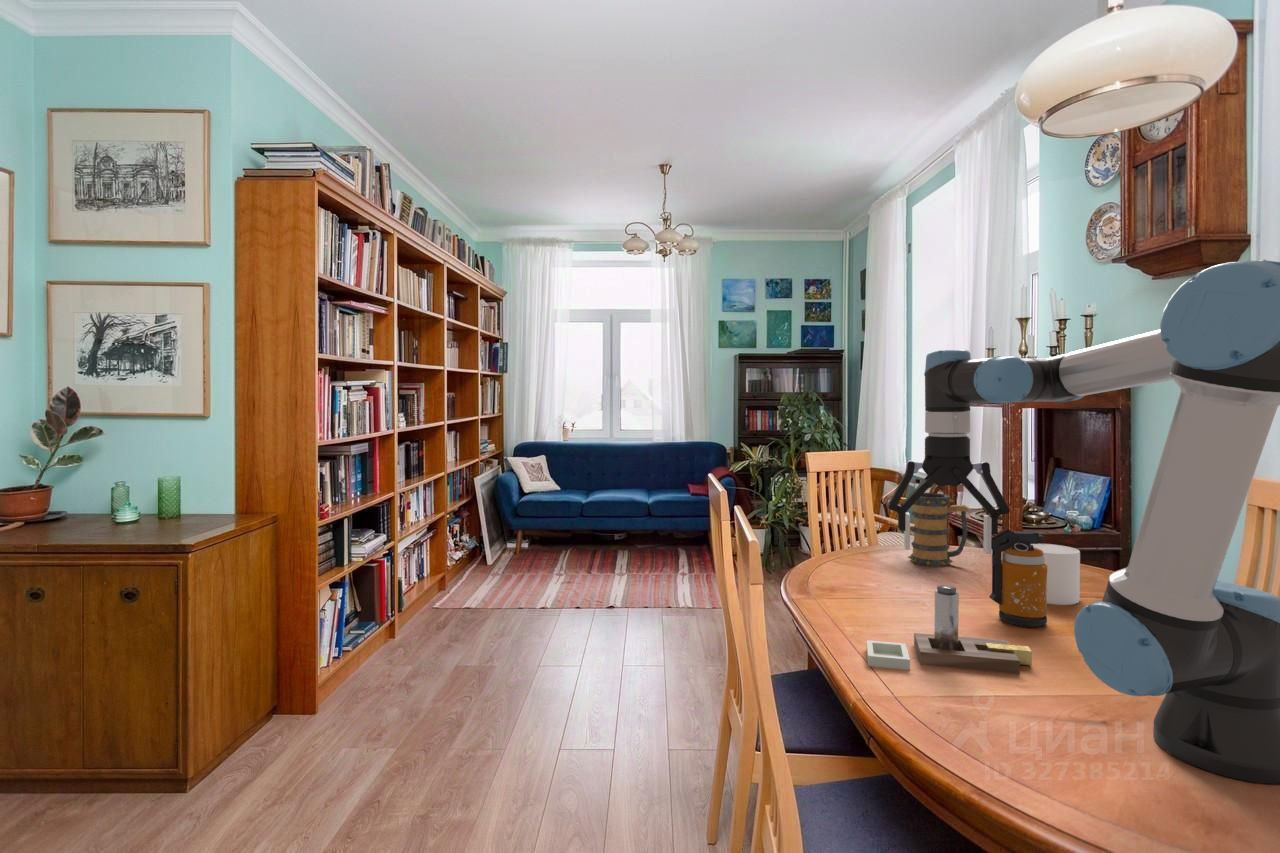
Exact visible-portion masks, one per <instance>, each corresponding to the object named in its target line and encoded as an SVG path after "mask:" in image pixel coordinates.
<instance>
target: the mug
mask: <svg viewBox="0 0 1280 853" xmlns="http://www.w3.org/2000/svg"><path fill="white" fill-rule="evenodd" d="M953 502H954V500H953V499H952V498H951V496H950V495H949V494H947V493H937V492H924V494H923V495H922V496H921V497H920V498H919V499H918V500H917V501H916V502H915V503H914V504H913V505H912V511H911V514H910V515H912V516H913V524H914V525H913V528H912V529H911V530H912V531H913V532H914V534H913V535H914V537H913V541H912V542H910V545H911V547H912V553H911V554H910V555H908V556H907V558H909V559H910V561H911V563H913V564H915V565H919V566H923V567H931V568H932V567H934V568H940V567H947V566H950V564H951V563H953V562H955V561H954V560H952V559H950V558H952V557H957V556H960V554H961V553H962V552H963V549H964V547H965V545H966V542H967V537H968V523H967V512H969V511H971V510H972V508H970V507H969V506H967V505H965V504H953V505H951V503H953ZM952 512H960V514H961V520H960V521H961V526H962V537H961V541H960V543H959V546H958V547H957V549H955V550H949V549H950V547H951V546H950V545H949V544H948V540H947V539H948V537H947V535H948V532H949V529H948V528H947V524H948V522H947V521H948V518H950V516H951V515H950V514H949V513H952Z"/></svg>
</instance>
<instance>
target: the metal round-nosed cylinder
mask: <svg viewBox="0 0 1280 853" xmlns="http://www.w3.org/2000/svg"><path fill="white" fill-rule="evenodd" d="M959 596H960V595H959V593H958V592H957V587H956V586H953V585H948V584H940V585H939V584H938V585H937V586H936V590H935V591H934V634H933V635H934V649H943V650H954V651H958V637H959V605H960V604H959V602H960V601H959Z"/></svg>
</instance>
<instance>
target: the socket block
mask: <svg viewBox="0 0 1280 853" xmlns="http://www.w3.org/2000/svg"><path fill="white" fill-rule="evenodd" d="M913 638H914V639H913V646H914V648H915V652H916V656H917V658H918V661H919V664H920V665H921V666H930V667H931V666H932V667H943V668H952V669H960V670H963V669H964V670H972V671H973V670H975V671H983V672H994V673H995V672H997V673H1005V674H1014V675H1015V674H1017V675H1020V674H1021V664H1020V660H1019V659H1018V657H1017V656H1016V654H1015V653H1006V652H995V651H985V646H986V643H992V644H1004V645H1010V644H1009V643H1008V641H1007V639H1006V640H1002V639H995V638H994V639H992V638H991V639H990V638H981V637H979V638H978V637H967V636H958V651H954V650H943V649H934V634H929V633H920V632H919V633H917V632H915V633H913Z"/></svg>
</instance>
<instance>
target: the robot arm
mask: <svg viewBox="0 0 1280 853" xmlns="http://www.w3.org/2000/svg"><path fill="white" fill-rule="evenodd" d="M1159 328H1160V329H1157V330H1152V331H1149V332H1144V333H1140V334H1136V335H1133V336H1129V337H1124V338H1121V339H1118V340H1114V341H1113V340H1112V341H1109V342H1106V343H1101V344H1098V345H1093V346H1090V347H1086V348H1083V349H1078V350H1075V351H1070V352H1067V353H1062V354H1059V355H1055V356H1051V357H1038V358H1037V357H1033V358H1032V357H1018V356H1008V355H1007V356H1006V355H1005V356H1001V355H997V356H992V357H985V358H975V359H972V358H971V352H970V351H969V350H968V349H944V350H943V349H942V350H939V349H938V350H932V351H929V352H928V353H927V355H926V356H925V366H924V367H925V368H924V408H925V409H924V410H925V414H924V416H925V419H924V432H925V433H926V434H928V435H926V437H925V438H924V459H923V461H922V462H919V461H913V460H907V461H906V465H905V472H904V473H903V476H902V477H901V479H900V481H899V483H898V484H897V487H896V489H895V491H894V492H893V494H892V496H891V498H890V500H889V501H888V503H887V508H888V509H889V510H890V511H893V512H896V513H897V525H898V526H897V528H898V530H899V531H900V532H901V531H902V532H903V534H904V535H903V538H904V539H903V545H904V546H903V547H904V550H907V551H910V550H911V514H910V513H909V512H908V511H909V509H910V508H911V507H913V504H914V503H915V502H916V501H917V500H918V499H919V498H920V497H921V496H922V495H923V494H924V493H926V491H927V490H928V489H930V488H931V487H932V486H933V485H934V484H935V486H938V487H946V486H951V487H958V486H960V485H962V486H963V487H964V488H965V489H966V490H967V491H968V492H969V493H970V495H971V496H972V497H973V498H974V499H975V500H976V501H977V502H978V503H979V504H980V505H981V506H982V508H983V509H984V510H985V511H986V512H987V513H988V514H983V543H982V544H983V545H982V546H983V547H982V548H983V549H982V550H983V552H985V554H991V555H992V547H991V538H992V535H994V536H996V535H998V533H999V528H998V527H999V517H1000V516H1002V515H1008V514H1009V513H1010V511H1011V509H1010V507H1009V506H1008V504H1007V502H1006V500H1005V498H1004V497H1003V495H1002V493H1001V491H1000V489H999V488H998V485H997V483H996V482H995V480H994V478H993V476H992V474H991V467H990V463H989V462H987V461H983V460H982V461H979V462H974V463H973V462H972V461H971V437H970V436H968V435H967V434H970V433H971V403H985V404H986V403H988V404H989V403H990V404H991V403H992V404H1010V403H1030V402H1031V403H1033V402H1038V403H1039V402H1045V403H1046V402H1047V403H1048V402H1049V403H1051V402H1054V403H1068V402H1073V401H1078V400H1081V399H1082V398H1084V397H1085V396H1089V395H1094V394H1101V393H1106V392H1112V391H1117V390H1122V389H1128V388H1129V389H1130V388H1135V387H1141V386H1147V385H1152V384H1157V383H1163V382H1164V383H1165V382H1169V381H1174V382H1175V383H1176V384H1177V386H1178V387H1179V390H1180V392H1179V396H1178V400H1177V403H1176V405H1175V410H1174V412H1173V416H1172V420H1171V423H1170V426H1169V430H1168V433H1167V436H1166V439H1165V441H1164V442H1165V443H1164V446H1163V449H1162V452H1161V456H1160V460H1159V462H1158V466H1157V470H1156V473H1155V475H1154V480H1153V482H1152V485H1151V489H1150V493H1149V496H1148V500H1147V503H1146V506H1145V509H1144V513H1143V516H1142V519H1141V522H1140V525H1139V529H1138V532H1137V535H1136V539H1135V541H1134V542H1135V543H1134V546H1133V548H1132V551H1131V556H1130V558H1129V562H1128V565H1127V567H1124V568H1121V569H1118V570H1116V571H1114V572H1112V573H1111V574H1110V575H1109V578H1108V581H1107V585H1106V587H1105V591H1104V594H1103V598H1102V600H1101V601H1100V600H1097V601H1094V602H1091V603H1089V604H1088V605H1086V606H1083V607H1082V608H1081V609H1080V610H1079V611H1078V613H1077V614H1076V618H1075V620H1074V627H1073V631H1074V632H1073V634H1074V640H1075V643H1076V647H1077V649H1078V652H1079V653H1080V655H1081V656H1082V657H1083V662H1084V663H1085V665H1086V666H1087V667H1088V668H1089V670H1090V671H1091V672H1092V674H1094V676H1095V677H1097V679H1098V680H1100V681H1101V682H1102V683H1103V684H1105V685H1107V686H1108V688H1111V689H1113V690H1114V691H1116V692H1117V693H1119V694H1124V695H1127V696H1132V697H1146V696H1147V697H1148V696H1149V697H1150V696H1151V697H1159V696H1164V698H1163V699H1162V702H1161V704H1160V706H1159V708H1158V710H1157V712H1156V714H1155V717H1154V718H1153V729H1152V731H1153V733H1152V734H1153V739H1154V741H1155V742H1156V743H1157V744H1158V746H1160V748H1161V749H1163V750H1164V751H1165V752H1167V753H1168V754H1169V755H1172V756H1173V757H1175V758H1177V759H1179V760H1181V761H1182V762H1185V763H1187V764H1190V765H1192V766H1194V767H1197V768H1199V769H1202V770H1205V771H1208V772H1211V773H1213V774H1217V775H1220V776H1223V777H1227V778H1231V779H1237V780H1241V781H1245V782H1252V783H1259V784H1271V785H1272V784H1278V785H1280V597H1278V596H1277V595H1275V594H1273V593H1270V592H1267V591H1263V590H1260V589H1256V588H1253V587H1248V586H1244V585H1240V584H1233V583H1229V582H1223V581H1218V580H1219V576H1220V573H1221V570H1222V567H1223V563H1224V561H1225V559H1226V555H1227V553H1228V550H1229V547H1230V544H1231V542H1232V539H1233V535H1234V533H1235V530H1236V527H1237V524H1238V521H1239V519H1240V515H1241V513H1242V510H1243V507H1244V505H1245V502H1246V498H1247V495H1248V494H1249V493H1248V492H1249V489H1250V487H1251V484H1252V481H1253V478H1254V476H1255V472H1256V470H1257V467H1258V464H1259V461H1260V458H1261V456H1262V452H1263V450H1264V447H1265V444H1266V442H1267V438H1268V436H1269V433H1270V430H1271V427H1272V425H1273V421H1274V419H1275V415H1276V413H1277V410H1278V407H1279V406H1280V261H1275V260H1274V261H1272V260H1267V259H1260V260H1250V259H1248V260H1244V261H1243V260H1242V261H1230V262H1229V261H1228V262H1225V263H1220V264H1215V265H1212V266H1210V267H1208V268H1205V269H1203V270H1201V271H1199V272H1197V273H1196V274H1194V276H1192V277H1191V278H1188V279H1187V280H1186V281H1185V282H1183V283H1182V284H1181V285H1180V286H1179V287H1178V288H1177V289H1176V290H1175V291H1174V293H1173V294H1172V295H1171V296H1170V298H1169V300H1168V301H1167V303H1166V305H1165V307H1164V309H1163V312H1162V315H1161V319H1160V327H1159ZM921 469H922V470H923V471H924V473H925V474H926V476H925V477H924V479H922V480H921V482H920V483H919V484H918V485H917V486H916V488H914V489H913V491H912V492H911V493H910V494H909V495H908V496H907V497H906V498H905V499H904V500H903V502H902V503H900V502H901V499H902V497H903V496H904V493H905V491H906V490H907V488H908V486H909V484H910V483H911V480H912V479H913V477H914V474H917V473H918V472H919V471H920V470H921ZM973 470H975V471H976V473H977V474H978V475H980V476H981V478H982V480H983V482H984V484H985V486H986V488H987V489H988V491H989V493H990V494H991V497H992V499H993V500H994V502H995V505H996V506H997V507H994V506H993V505H992V504H991V503H990V501H989V500H987V498H986V497H985V496H984V495H983V494H982V493H981V492H980V490H978V489H977V487H976V486H975V485H974V484H973V483H972V481H971V480H970V478H968V476H969V475H970V474H971V473H972V472H973ZM899 503H900V504H899Z"/></svg>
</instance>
